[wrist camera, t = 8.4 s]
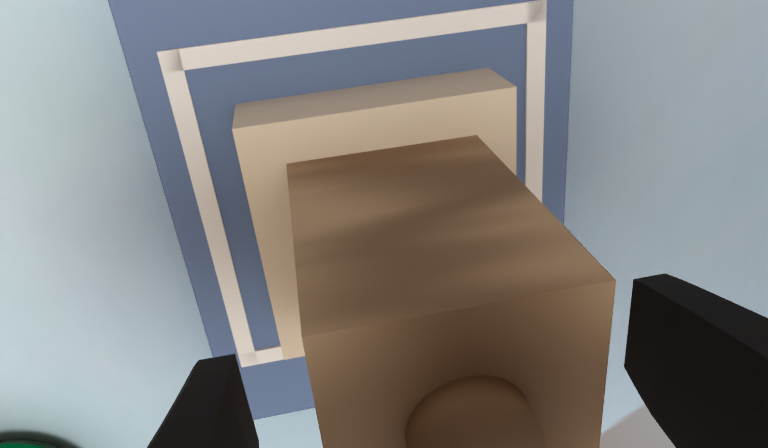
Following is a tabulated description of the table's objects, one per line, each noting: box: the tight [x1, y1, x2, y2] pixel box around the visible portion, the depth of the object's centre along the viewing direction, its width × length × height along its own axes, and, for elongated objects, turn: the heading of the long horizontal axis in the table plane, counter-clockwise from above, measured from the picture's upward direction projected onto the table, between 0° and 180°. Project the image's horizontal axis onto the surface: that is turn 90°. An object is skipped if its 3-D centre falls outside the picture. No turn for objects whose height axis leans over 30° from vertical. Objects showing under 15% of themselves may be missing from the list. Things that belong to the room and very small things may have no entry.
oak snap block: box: [286, 135, 616, 448], centre depth 12 cm, size 4×4×7 cm
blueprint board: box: [108, 0, 573, 420], centre depth 17 cm, size 11×14×3 cm
